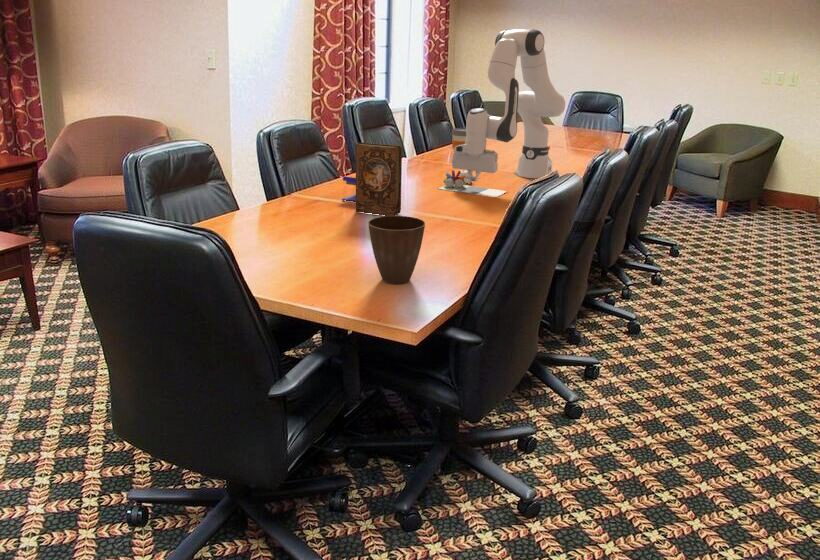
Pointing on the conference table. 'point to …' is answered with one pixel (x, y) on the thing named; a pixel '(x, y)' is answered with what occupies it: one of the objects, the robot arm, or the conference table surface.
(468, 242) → the conference table surface
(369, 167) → the book
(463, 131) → the reusable coffee cup
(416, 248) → the plant pot
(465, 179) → the die
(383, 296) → the conference table surface
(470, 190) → the game mat
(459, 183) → the rainbow segmented toy
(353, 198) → the stapler
